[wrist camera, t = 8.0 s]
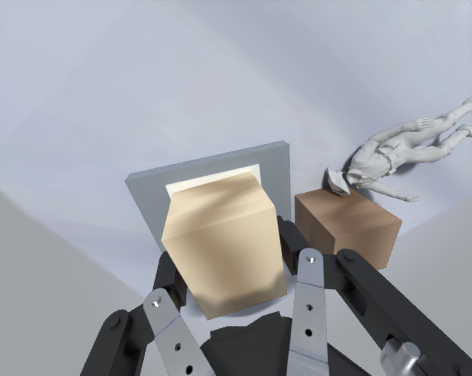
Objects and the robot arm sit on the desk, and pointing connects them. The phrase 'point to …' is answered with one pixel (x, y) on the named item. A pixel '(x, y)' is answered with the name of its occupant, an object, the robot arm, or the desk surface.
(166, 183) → the board
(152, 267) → the desk surface
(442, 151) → the soldier figure
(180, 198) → the maple block
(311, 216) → the walnut cube
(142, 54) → the desk surface
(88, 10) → the desk surface
